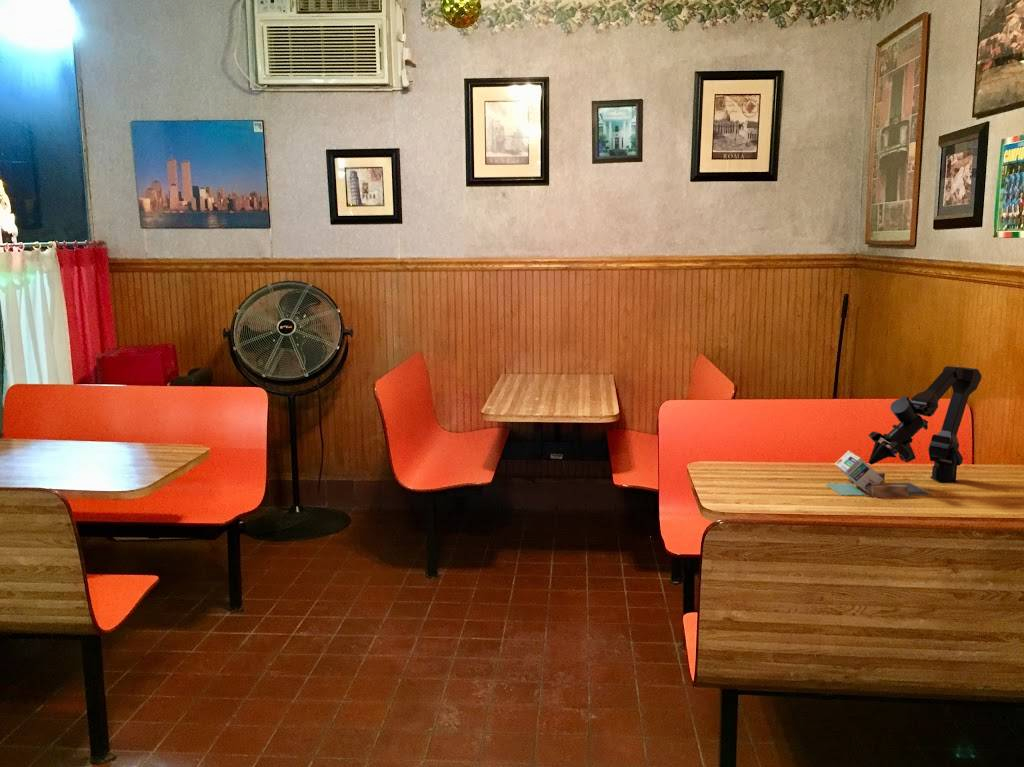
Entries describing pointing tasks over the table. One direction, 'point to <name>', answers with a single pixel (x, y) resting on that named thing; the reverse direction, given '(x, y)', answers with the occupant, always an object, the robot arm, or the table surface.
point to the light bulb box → (858, 471)
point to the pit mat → (912, 489)
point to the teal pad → (845, 489)
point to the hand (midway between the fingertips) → (869, 463)
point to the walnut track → (887, 489)
